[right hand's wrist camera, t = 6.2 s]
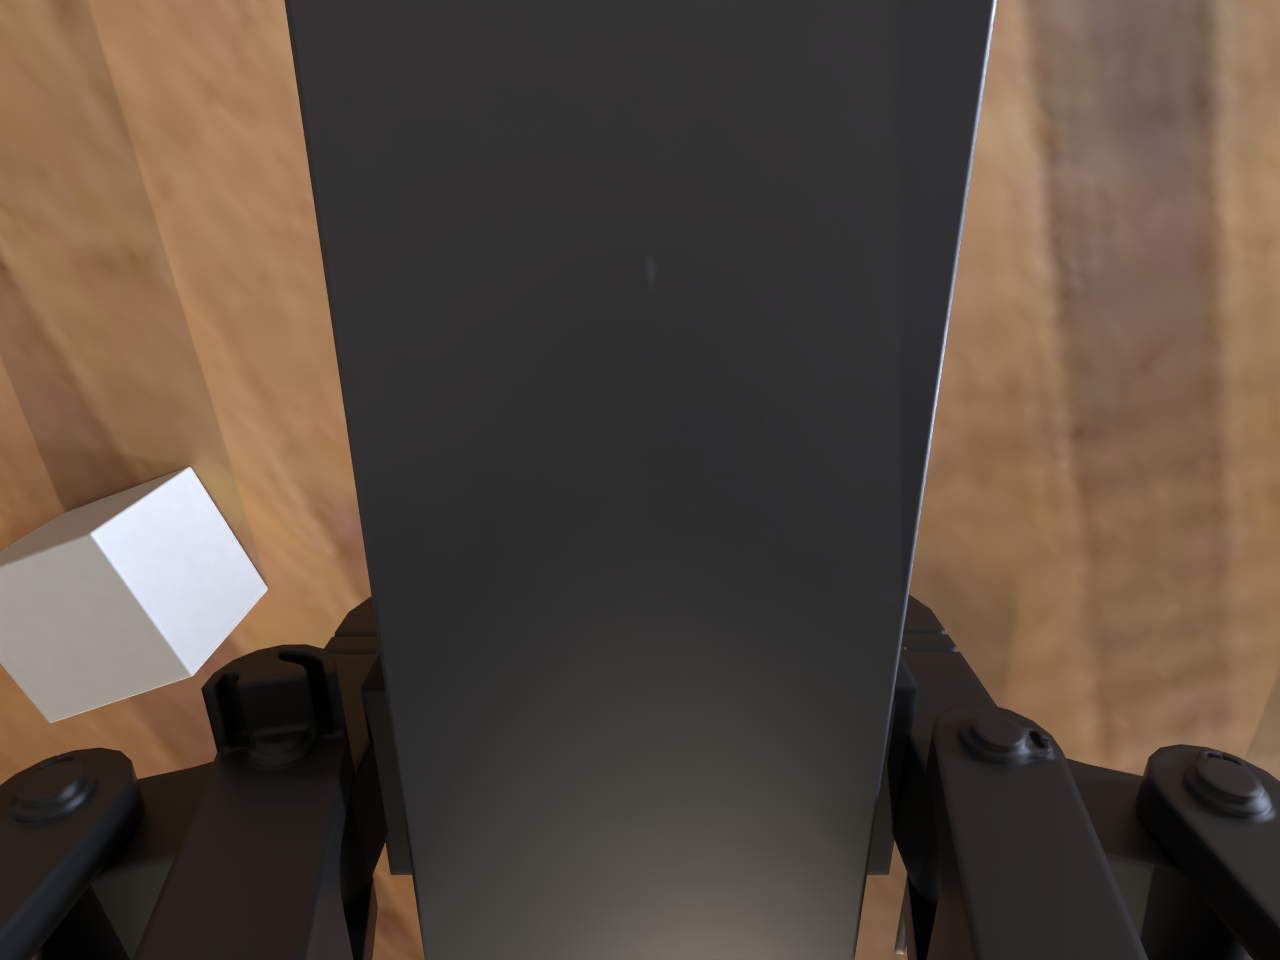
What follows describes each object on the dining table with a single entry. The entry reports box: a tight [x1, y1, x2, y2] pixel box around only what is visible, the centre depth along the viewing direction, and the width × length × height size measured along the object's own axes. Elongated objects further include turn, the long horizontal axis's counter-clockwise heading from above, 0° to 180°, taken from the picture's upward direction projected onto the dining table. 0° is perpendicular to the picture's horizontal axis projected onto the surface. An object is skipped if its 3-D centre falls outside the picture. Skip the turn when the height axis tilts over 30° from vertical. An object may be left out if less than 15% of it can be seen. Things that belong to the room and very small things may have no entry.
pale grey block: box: [0, 467, 268, 723], centre depth 24 cm, size 5×5×5 cm
